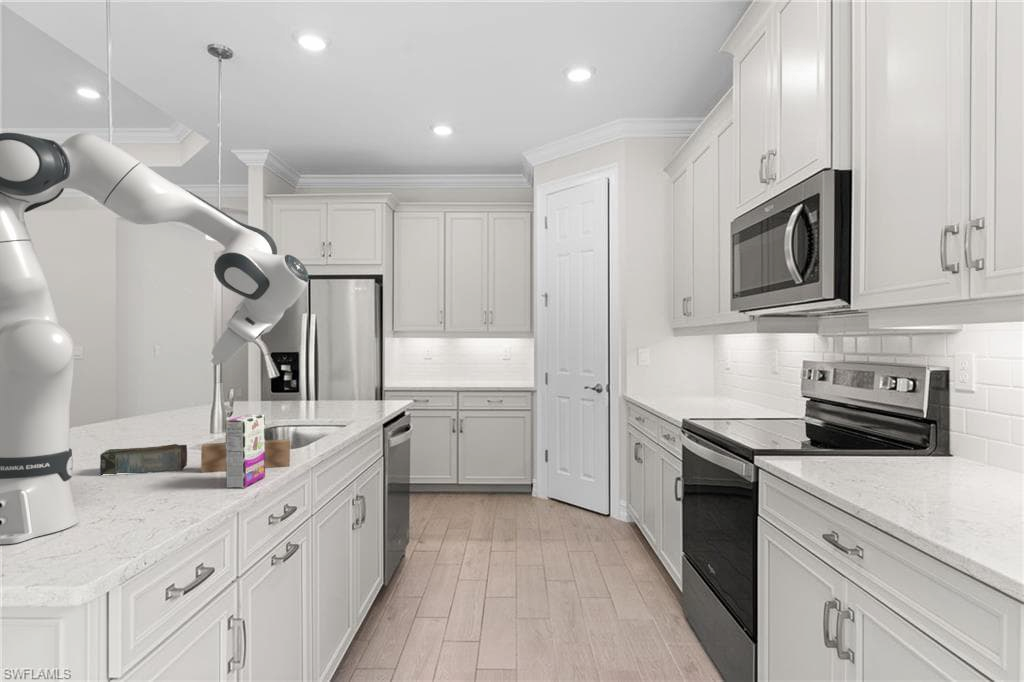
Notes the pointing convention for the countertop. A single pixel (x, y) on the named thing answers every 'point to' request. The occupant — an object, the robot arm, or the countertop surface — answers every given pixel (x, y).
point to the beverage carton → (144, 459)
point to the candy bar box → (245, 450)
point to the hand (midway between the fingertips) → (224, 353)
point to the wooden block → (216, 455)
